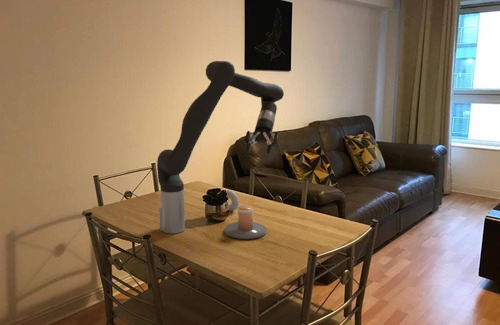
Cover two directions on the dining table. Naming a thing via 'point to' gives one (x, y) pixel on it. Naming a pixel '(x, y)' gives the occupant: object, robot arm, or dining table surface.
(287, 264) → the dining table surface
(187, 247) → the dining table surface
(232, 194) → the donut
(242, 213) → the pink cylinder
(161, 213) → the robot arm
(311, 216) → the dining table surface
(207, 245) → the dining table surface
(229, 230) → the dish
